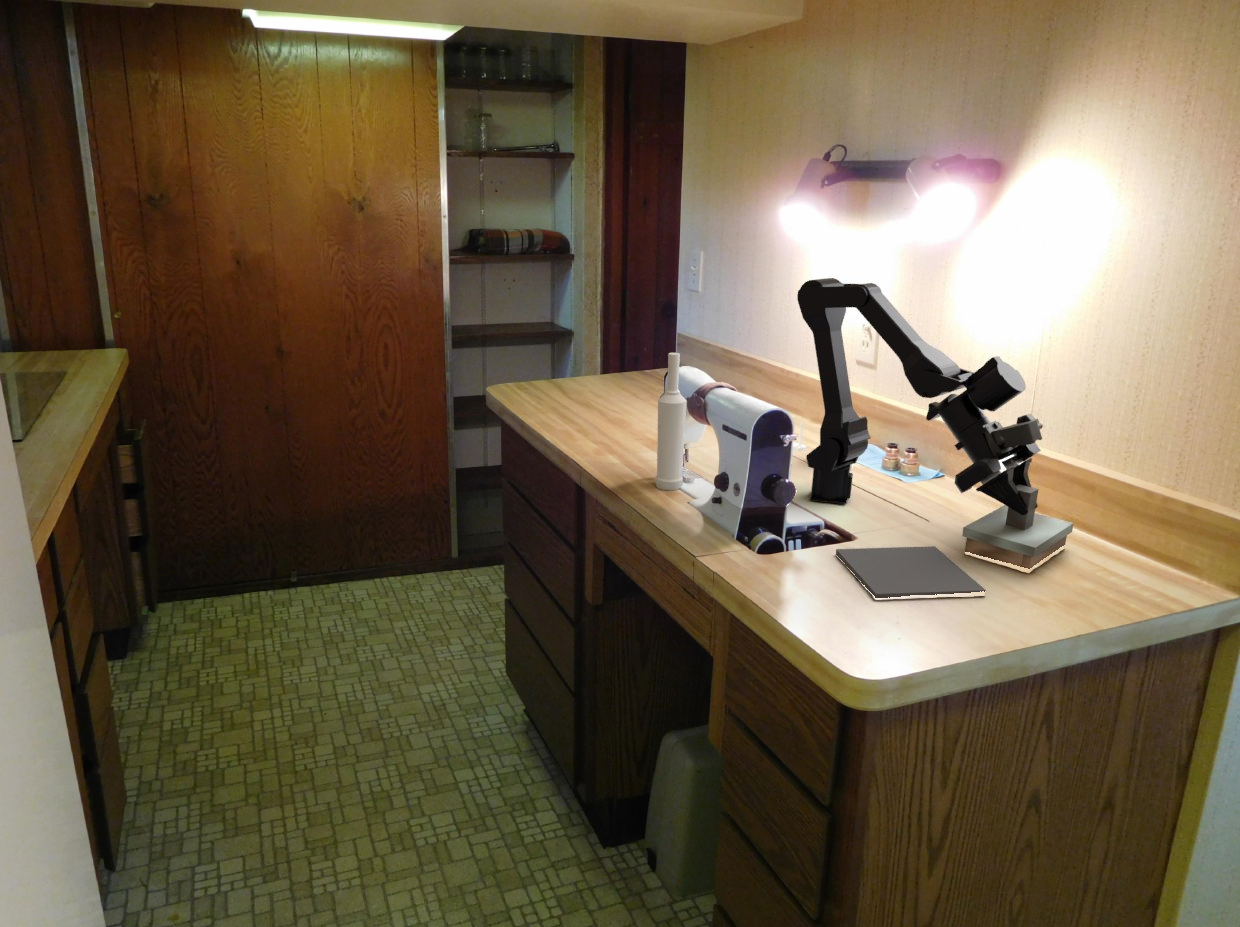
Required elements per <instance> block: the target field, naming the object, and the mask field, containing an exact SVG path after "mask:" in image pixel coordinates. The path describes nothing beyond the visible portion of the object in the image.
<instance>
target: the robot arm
mask: <svg viewBox="0 0 1240 927" xmlns="http://www.w3.org/2000/svg"><path fill="white" fill-rule="evenodd" d="M796 296H797V297H796V298H797V304H798V307H799V310H800V313H801V316H802V319H803V320H804V322H805V323H806V325H807V326H808V328H809V329H810V330H811V333H812V335H813V340H814V341H813V342H814V347H815V348H814V349H815V354H816V362H817V367H818V374H819V376H818V377H819V382H820V387H821V388H820V389H821V394H822V402H823V408H824V416H823V418H822V419H823V420H822V422H821V426H820V429H819V445H817V446H816V447H815V448H814V449H813V450H811V451H810V452H809V453H807V454H806V456H805V457H806V462H807V466H808V468H811V469H813V471H812V481H811V492H810V496H809V501H812V502H821V503H830V504H838V505H847V503H848V500H849V499H850V498H851V495H852V485H853V478H854V474H853V473H852V472H851V470H850V465H851V464H854V465H855V464H856V463H857V461H858V460H859V457H861V455H863V454H864V453H865V452H866V450H867V449H868V446H869V440H871V438H872V437H871V434H870V433H869V430H868V424H869V423H868V418H867V416H866V415H865V416H862V417H859V415H858V414H857V412H856V410H855V409H854V406H853V400H852V393H851V386H850V380H849V373H848V372H849V371H848V367H847V365H848V364H847V360H846V352H845V347H844V338H843V332H842V325H843V322H844V319H845V316H846V312H847V308H855V309H856V310H858V312H859V313H860V314H861V315H862V316H863V317H864V319H865V321H867V322H868V324H869V325H870V326H871V327H872V328H873V329H874V330H875V331H876V333H877V334H878V335H879V336H880V338H881V339H882V340H883V341H884V342H885V343H886V344H887V345H888V347H889V348H890V349H891V350H892V351H893V353H894V354H895V355H896V356H897V357H898V359H899V361H900V363H901V364H902V365H901V366H902V368H903V373H904V376H905V377H906V379H907V381H908V383H909V384H910V386H911V387H912V389H913V391H914V392H915V394H917V395H918V396H919V397H921V398H924V399H933V398H936V397H939V396H943V395H946V394H949V395H948V396H946V397H945V398H943V399H942V400H941V401H939V402H938V401H934V402H931V403H928V411H927V413H926V417H925V420H926V421H928V422H929V421H933V420H936V419H938V418H941V419H942V421H943V422H944V424H945V425H946V426H947V429H948V430H949V431H950V432H951V434H952V435H953V436H954V438H955V439H956V441H957V443H956V444H954V447H955V449H956V450H957V451H960V450H963V451H964V452H965V454H966V455H967V456H968V458H969V459H970V461H971V463H972V464H971V465H969V466H968V467H966V468H964V469H963V470H961V471H960V472H958V473H957V474H955V479H954V485H955V486H956V487H957V489H958V491H959V492H960V493H961V494H964V493H966V492H968V491H969V490H971V489H972V488H973V487H974V486H976V485H977V484H978V483H981V485H980V486H978V487H977V488H976V489H975V491H976V492H981V493H983V494H985V495H986V496H988V497H990V498H992V499H993V500H996V501H997V502H1000V503H1001V504H1003V506H1004V505H1006V506H1008V507H1009V508H1011V509H1013V510H1014V511H1016V512H1018V513H1019V514H1021V515H1025V514H1027V513H1028V512H1029V510H1028V508H1027V506H1026V504H1025V502H1024V500H1023V498H1022V497H1021V495H1020V493H1019V491H1018V489H1017V488H1016V486H1017V485H1019V484H1020V485H1024V486H1028V487H1032V484H1031V481H1030V478H1029V474H1028V473H1029V468H1030V466H1031V463H1033V462H1032V461H1033V456H1035V455H1037V454H1038V453H1041V451H1042V449H1040V447H1039V446H1038V445H1037V443H1036V441H1042V440H1043V436H1042V433H1041V429H1043V427H1044V426H1043V424H1042V423H1041V422H1040V421H1039V418H1035V417H1034V415H1032V413H1029V414H1024V415H1021V416H1018V417H1017V419H1016V423H1014V424H1011V425H1008V426H1002V423H1000V422H999V421H997V420H994V421H992V422H991V420H990V419H989V418H988V416H987V415H986V413H985V412H984V411H986V410H987V411H989V412H996V411H997V410H999V409H1000V408H1002V407H1003V406H1004V405H1006V404H1007V403H1008V402H1010V401H1012V400H1013V399H1015V398H1016V397H1017V396H1019V395H1021V394H1022V393H1023V392H1024V391H1026V387H1027V386H1026V382H1025V379H1024V378H1023V375H1021V373H1020V371H1019V370H1018V369H1015V368H1014V367H1013V366H1011V364H1009V362H1008V363H1007V362H1005V361H1003V359H1002V358H1001V357H1000V356H999V355H996V356H993V357H991V358H990V359H988V360H987V361H986V362H985V363H984V364H983V365H982V366H981V367H980V368H979V369H977V370H976V371H975V372H974V371H970V370H968V369H963V368H961V367H959V365H958V364H957V362H955V361H954V360H953V359H952V358H950V357H949V356H948V355H946V354H945V353H944V352H943V351H941V350H939V349H938V348H936V347H934V346H932V345H930V344H929V343H927V341H925V340H924V339H923V338H922V336H920V335H919V333H918V332H916V330H915V329H914V327H912V325H911V324H909V322H908V321H907V320H906V319H905V317H903V316H902V314H901V313H900V312H899V311H898V310H897V308H896V307H895V306H894V305H893V304H892V302H891V301H890V300H889V299H888V298H887V297H886V295H884V294H883V292H882V289H881V287H880V286H878V285H877V284H876V283H872V282H867V283H842V282H841V281H840V280H838V279H837V278H835V277H834V278H833V277H828V278H826V277H825V278H819V279H818V278H817V279H810V280H809V279H808V280H807V281H805V282H804V283H802V285H801V287H800V288H799V290H798V291H797V295H796ZM964 388H966V389H965V390H964V391H963V392H961V393H960V394H957V393H952V392H956V391H958V390H961V389H964ZM950 393H951V394H950ZM1038 506H1039V505H1038V501H1037V502H1036V508H1035V510H1036V509H1037V508H1038Z"/></svg>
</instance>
